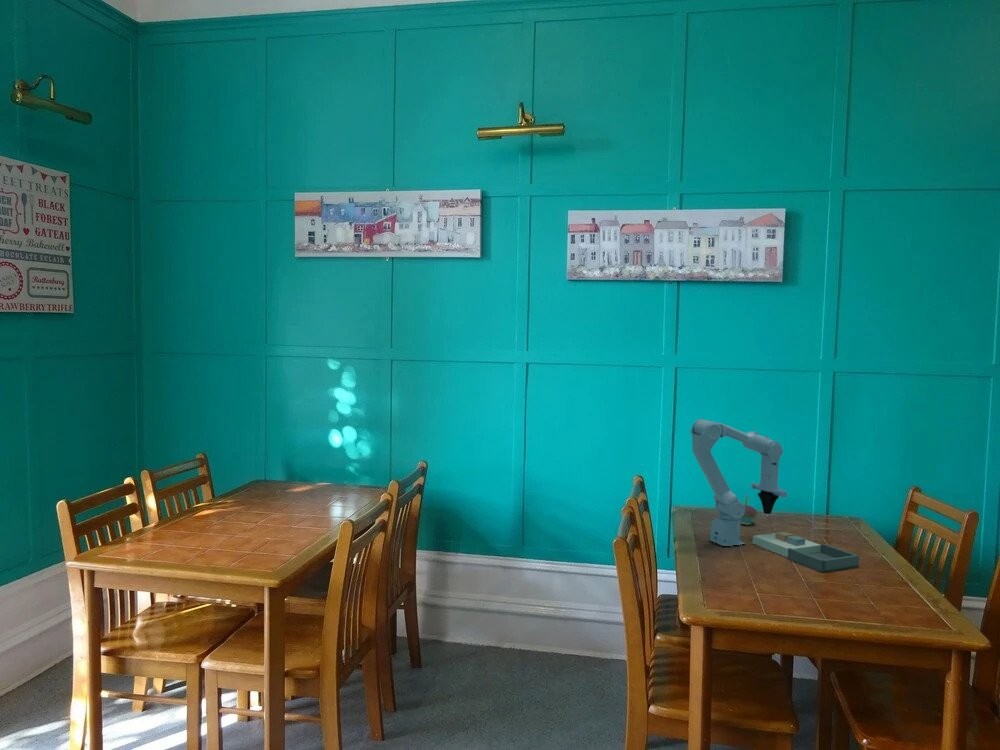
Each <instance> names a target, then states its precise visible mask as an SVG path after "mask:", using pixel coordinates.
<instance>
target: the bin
mask: <svg viewBox="0 0 1000 750" xmlns="http://www.w3.org/2000/svg"><path fill="white" fill-rule="evenodd" d="M820 545H821V553H813V554H805V553H803V552H800V551H797V550H795V549H792V548H788V558H787V560H789V561H792V562H794V563H797V564H800V565H803V566H805V567H807V568H810V569H813V570H815V571H817V572H820V573H827V572H834V571H835V572H836V571H840V570H848V569H853V568H859V567H860V565H859V564H860V555H858V554H856V553H852V552H850V551H847V550H843V549H841V548H838V547H835V546H831V545H829V544H825V543H821V544H820Z"/></svg>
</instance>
